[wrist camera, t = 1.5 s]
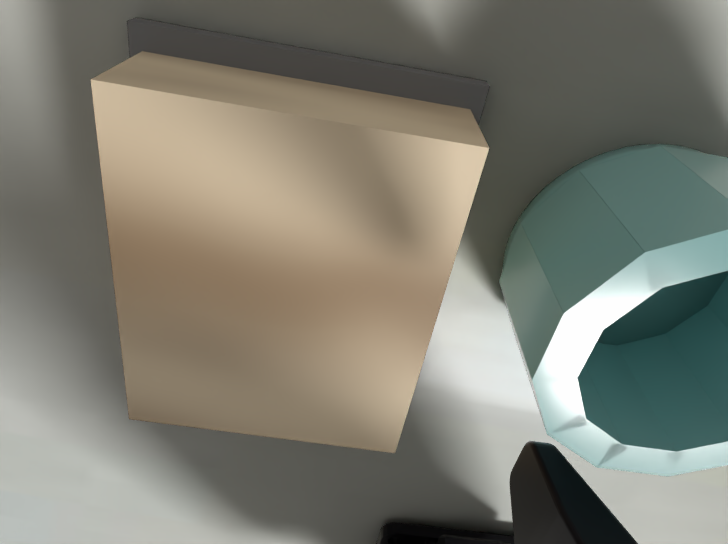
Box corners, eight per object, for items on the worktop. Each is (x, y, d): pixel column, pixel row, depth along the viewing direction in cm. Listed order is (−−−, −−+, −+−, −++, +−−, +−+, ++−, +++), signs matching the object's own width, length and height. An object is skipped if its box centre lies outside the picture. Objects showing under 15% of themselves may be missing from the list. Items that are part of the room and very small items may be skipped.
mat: (397, 391, 16) (397, 401, 15) (157, 358, 15) (152, 368, 15) (486, 81, 11) (489, 86, 10) (134, 17, 10) (127, 20, 10)
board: (392, 388, 15) (394, 453, 13) (160, 356, 15) (129, 419, 13) (470, 109, 11) (489, 147, 9) (142, 51, 10) (90, 79, 8)
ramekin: (677, 362, 15) (762, 488, 12) (469, 332, 15) (497, 454, 11) (810, 163, 12) (982, 259, 8) (547, 116, 11) (618, 198, 8)
